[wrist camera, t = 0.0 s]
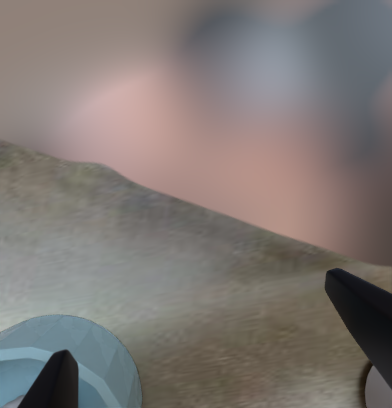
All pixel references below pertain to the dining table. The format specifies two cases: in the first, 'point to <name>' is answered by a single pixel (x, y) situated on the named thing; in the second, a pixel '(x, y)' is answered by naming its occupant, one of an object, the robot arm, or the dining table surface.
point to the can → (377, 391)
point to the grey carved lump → (14, 402)
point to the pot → (82, 352)
